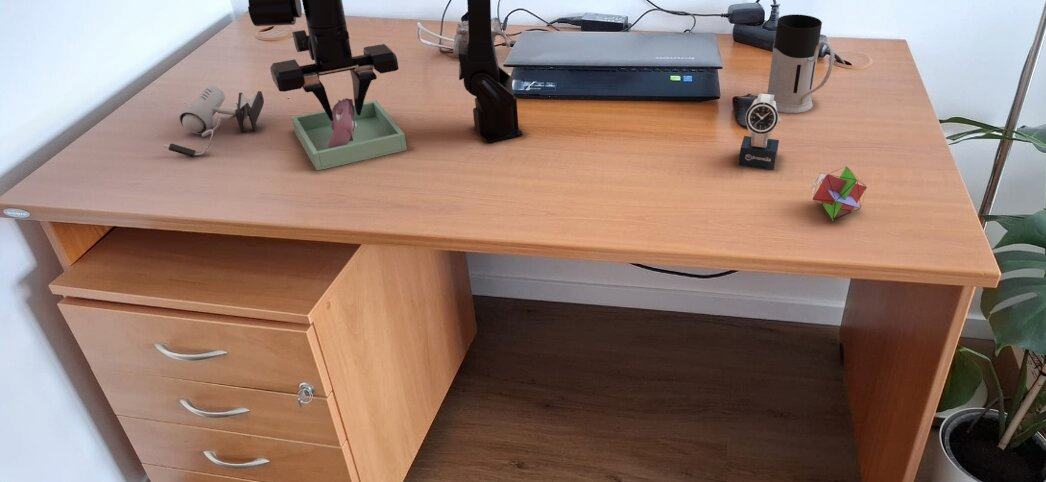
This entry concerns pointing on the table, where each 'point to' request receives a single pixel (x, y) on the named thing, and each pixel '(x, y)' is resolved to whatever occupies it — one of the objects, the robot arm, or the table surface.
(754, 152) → the watch
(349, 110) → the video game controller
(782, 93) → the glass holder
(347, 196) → the table surface
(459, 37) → the elephant statuette
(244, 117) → the clip-on lamp
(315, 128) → the tray
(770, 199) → the table surface
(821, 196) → the geometric puzzle
